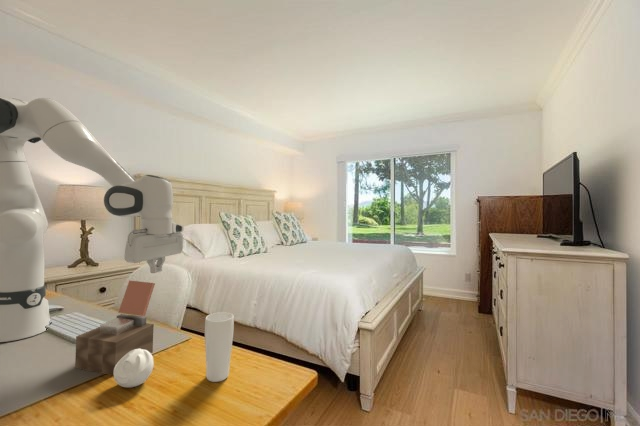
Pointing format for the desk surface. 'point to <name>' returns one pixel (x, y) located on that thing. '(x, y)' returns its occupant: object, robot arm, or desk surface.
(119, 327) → the steel peg
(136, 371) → the white ridged ball
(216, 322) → the drinking glass
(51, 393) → the desk surface
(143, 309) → the panel
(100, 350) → the block
